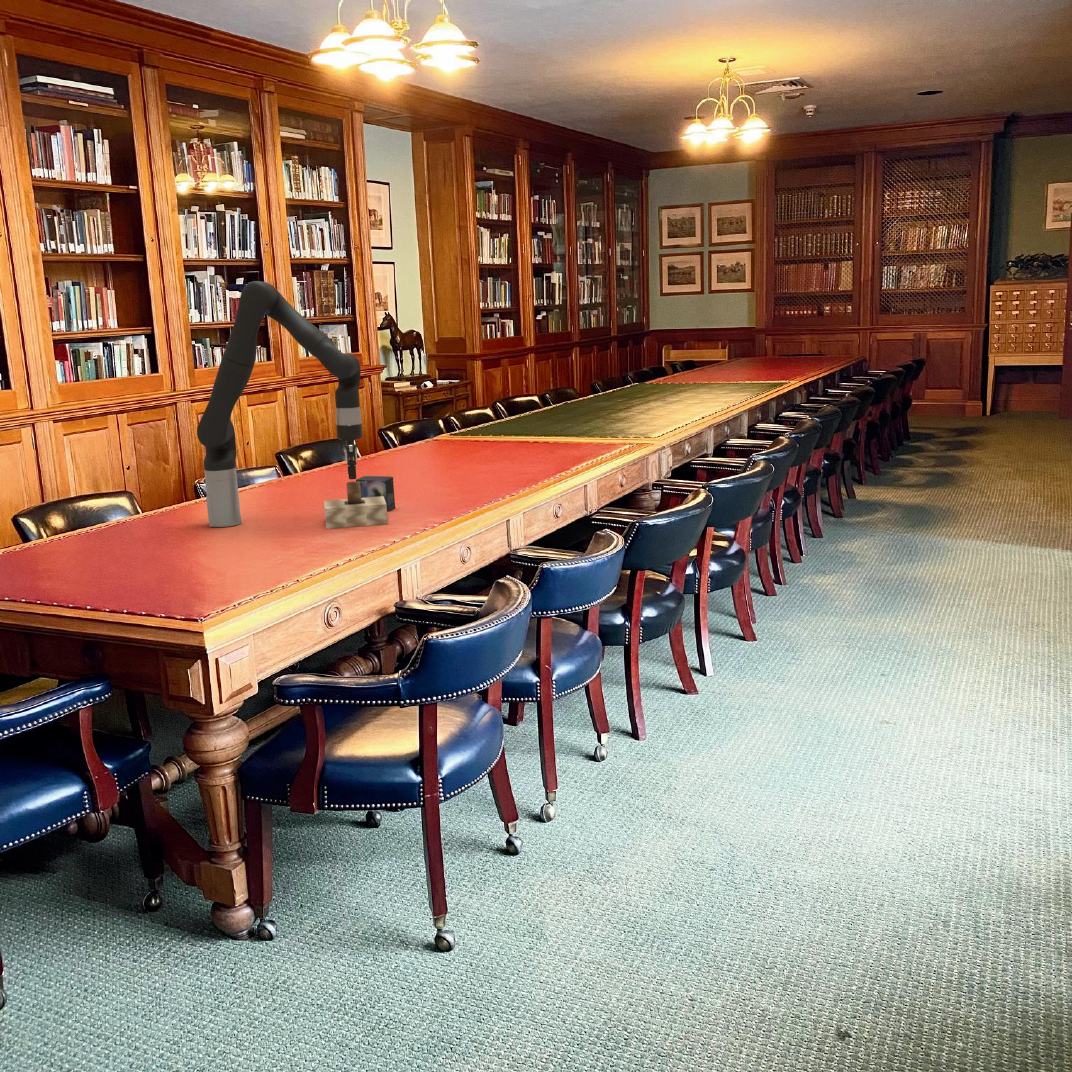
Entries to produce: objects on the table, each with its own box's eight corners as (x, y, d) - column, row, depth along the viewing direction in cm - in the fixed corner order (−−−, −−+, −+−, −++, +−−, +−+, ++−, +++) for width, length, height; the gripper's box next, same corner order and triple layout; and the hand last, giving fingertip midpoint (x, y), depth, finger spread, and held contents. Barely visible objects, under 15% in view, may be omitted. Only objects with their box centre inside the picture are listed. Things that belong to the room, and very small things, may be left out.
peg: (349, 523, 317) (346, 484, 315) (349, 521, 321) (346, 482, 319) (363, 522, 318) (360, 483, 315) (363, 520, 322) (360, 481, 319)
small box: (357, 511, 336) (354, 479, 333) (366, 507, 342) (363, 475, 339) (387, 512, 333) (385, 479, 330) (396, 508, 339) (393, 476, 336)
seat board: (326, 528, 311) (324, 508, 310) (325, 519, 325) (324, 500, 323) (387, 524, 315) (386, 504, 313) (384, 515, 328) (383, 496, 327)
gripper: (335, 420, 319) (339, 473, 323) (336, 425, 305) (339, 481, 309) (360, 419, 320) (363, 472, 324) (362, 424, 307) (365, 480, 310)
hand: (352, 476), depth 316 cm, fingers open, 8 cm apart
